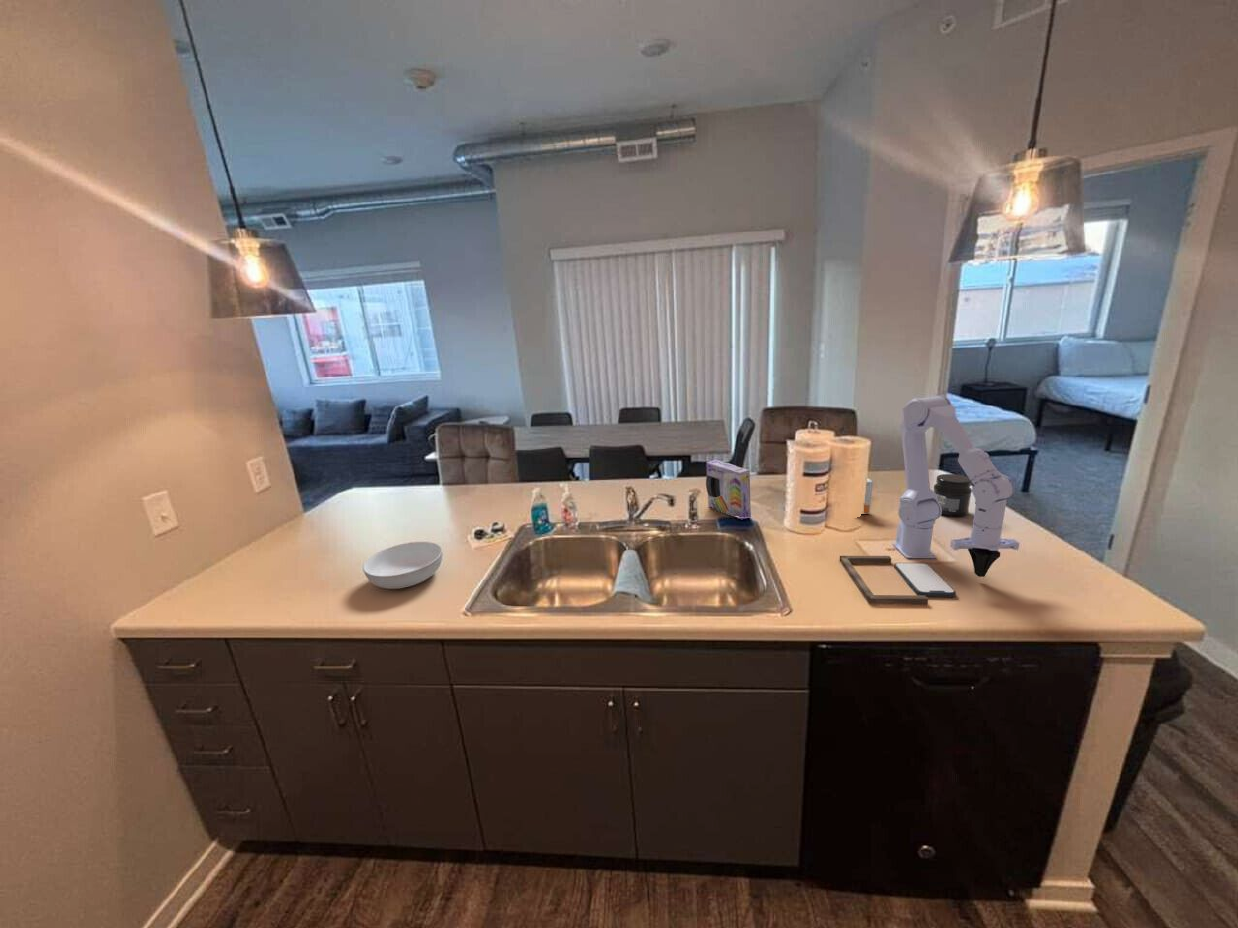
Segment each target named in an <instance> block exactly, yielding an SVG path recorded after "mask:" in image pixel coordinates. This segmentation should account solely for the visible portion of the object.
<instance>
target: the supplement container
mask: <svg viewBox="0 0 1238 928" xmlns="http://www.w3.org/2000/svg"><path fill="white" fill-rule="evenodd" d="M935 480H936V481H935V482H936V483H935V484H934V485H933V492H935V493H936V494H937V498H938V501H939V503H940V505H941V508H942V514H941V516H944V517H950V518H962V517H964V516H967V514H969V511H970V510H969V509H970V503H971V495H972V494H973V493H972V487H971V486H972V482H971V480H970V479H969V477H968V476H964V475H960V474H953V473H943V474H939V475H937V476H936V479H935Z"/></svg>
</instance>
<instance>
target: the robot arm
mask: <svg viewBox="0 0 1238 928" xmlns="http://www.w3.org/2000/svg"><path fill="white" fill-rule="evenodd" d="M902 414H903V416H902V417H903V418H902V421H901V422H902V423H901V426H900V430H901V443H902V451H903V463H904V473H905V482H906V483H905V484H906V490H905V492H904V493H903V494H902V495H901V496H900V498H899V507H898V511H897V512H898V517H899V519H900V520H899V521H898V523H897V531H896V537H895V538H896V539H895V541H893V542H892V546H894V547H895V548H896V549H897V550H898V552H900V554H901V555H902V556H904V557H905V558H906V559H937V555H936V554H935V553H933V552H932V551H931V547H932V539H933V534H934V533H933V531H934V526H935V525H934V524H936V521H937V520H938V519H939V518H940V517H941V516H942V515H941V514H942V508H941V505H940V503H939V501H938V498H937V494H936V493H935V492H934V490H932V489H931V486H930V485H931V484H930V474H929V472H930V471H929V463H928V461H929V459H928V452H927V443H926V432H927V431H928V430H929V429H930V428H933V429H938V430H940V432H941V433H942V434H943V435H944V437H945V438H946V439H947V440H948V442H949V443H950V444H951V445H952V447H953V448H954V449H955V450H956V452H957V453H958V454H959V455H958V458H957V463H958V464H959V466H960V467H961V469H963V471H964V473H965V474H966V477H968V478H969V479H970V480H971V484H973V487H971V489H972V493H971V494H972V496H974V500H975V501H974V505H975V508H974V515H973V521H972V527H971V528H972V529H971V533H970V534H971V535H970V536H968V537H964V538H958V539H951V540H950V545H949V547H950V548H951V549H952V550H954V551H959V550H964V549H965V550H967V551H968V552H969V555H970V557H971V561H972V565H973V571H974V574H975V575H976V576H977V577H978V578H979V577H980V578H984V577H986V575H987V574H988V572H989V569H990V568H991V567H992V565H993V564H994V563H995V562H996V560H998V559H999V558H1000V557H1001V552H1000V551H999V550H1001V549H1002V550H1005V549H1009V550H1014V551H1019V547H1020V542H1019V541H1018V540H1016V539H1014V538H1013V539H1012V538H1001V536H1002V530H1003V525H1004V518H1005V511H1006V506H1007V500H1008V499H1009V498H1010V497H1012V495H1013V494H1014V492H1015V485H1014V483H1013V480H1012V478H1010V477H1009V476H1007V475H1005V474H1002V472H1001V471H999V470H998V469H997V468H996V466H995V465H994V464H993V462H992V461H991V459H990V458H989V457H990V455H989V454H988V452H985V451H984V450H983V449H981V448H978V447H975V446H974V445H973V443H972V441H971V440H970V438H969V436H968V435H967V432H966V431H965V429H964V428H963V426H962V424H961V422H960V421H959V419H958V417H957V416H956V407H955V406H954V405H953V404H952V403H951V400H950V398H948V397H947V396H945V395H942V394H941V395H938V394H937V395H935V396H930V397H922V398H913V399H910V400H909V401H908V402H907V403H906V404H905V405H904V406H903V407H902Z"/></svg>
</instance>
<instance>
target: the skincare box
mask: <svg viewBox="0 0 1238 928" xmlns="http://www.w3.org/2000/svg"><path fill="white" fill-rule="evenodd" d="M873 484H874V481H872V480H871V479H870V478H868V477H867V484H866V494H865V503H864V513H865V514H869V515H870V514H871V513H870V511H871V503H872V496H873V495H872V494H873Z"/></svg>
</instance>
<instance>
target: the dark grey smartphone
mask: <svg viewBox="0 0 1238 928" xmlns="http://www.w3.org/2000/svg"><path fill="white" fill-rule="evenodd" d="M893 568H894V570H895V571H896V573H898V574H899V576H900V577H901V578H902V579H903V580H904V582H905V583H906V584H907V585H908V587H910V589H911V590H912V591H913V592H914V593H915V594H916V595H925V596H926V597H927V598H935V599H936V598H940V599H941V598H942V599H943V598H944V599H945V598H948V599H950V598H951V599H953V598H956V595H957V591H956V590H955V589H954V588H953V587H952V586H951V585H949V583H947V581H946V580H944V578H942V576H941V575H939V574H938V573H937V572H936V571H935V570H934V569H933V568H932V567H931V566H930V565H929V564H927V563H924V562H922V563H921V562H919V563H918V562H916V563H915V562H895V563H894V565H893Z"/></svg>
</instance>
